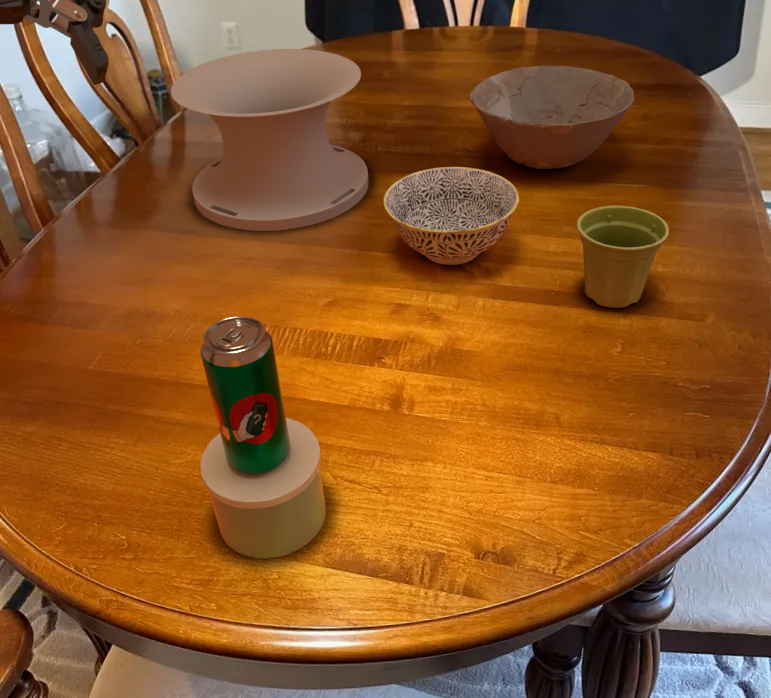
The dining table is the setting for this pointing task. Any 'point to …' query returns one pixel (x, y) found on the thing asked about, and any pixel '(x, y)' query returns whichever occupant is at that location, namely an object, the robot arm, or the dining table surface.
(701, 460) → the dining table surface
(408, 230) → the bowl
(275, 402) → the soda can
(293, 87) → the vase
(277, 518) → the canister
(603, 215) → the plant pot
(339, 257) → the dining table surface
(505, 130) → the ceramic bowl
